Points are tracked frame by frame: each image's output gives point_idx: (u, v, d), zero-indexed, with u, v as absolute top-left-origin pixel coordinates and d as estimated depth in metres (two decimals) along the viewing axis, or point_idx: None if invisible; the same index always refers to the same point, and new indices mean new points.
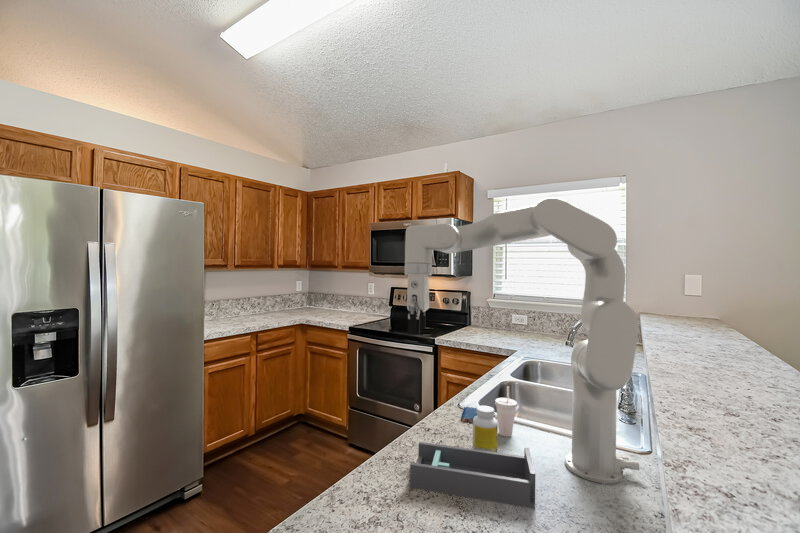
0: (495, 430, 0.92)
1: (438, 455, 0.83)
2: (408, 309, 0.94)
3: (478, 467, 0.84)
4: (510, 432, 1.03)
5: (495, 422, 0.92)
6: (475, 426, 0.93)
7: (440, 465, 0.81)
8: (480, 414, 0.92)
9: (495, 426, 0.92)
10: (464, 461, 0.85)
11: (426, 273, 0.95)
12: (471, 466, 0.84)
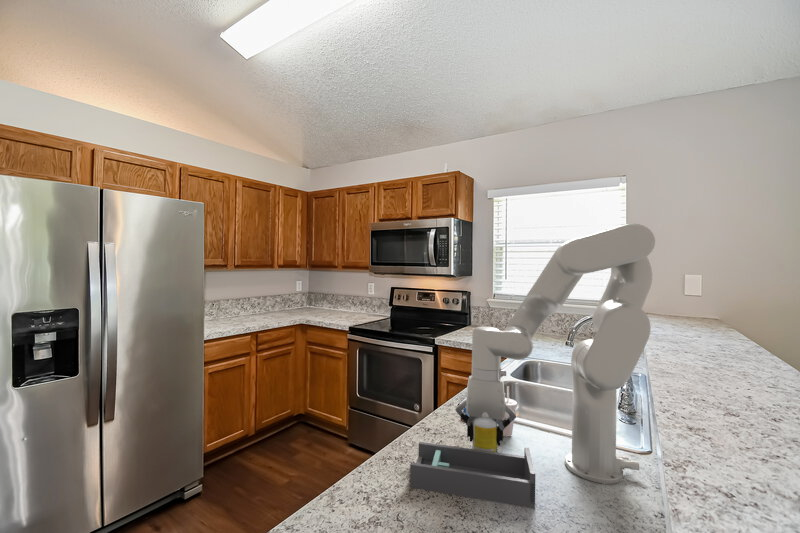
0: (495, 430, 0.92)
1: (438, 455, 0.83)
2: (503, 418, 0.91)
3: (478, 467, 0.84)
4: (510, 432, 1.03)
5: (495, 422, 0.92)
6: (475, 426, 0.93)
7: (440, 465, 0.81)
8: None
9: (495, 426, 0.92)
10: (464, 461, 0.85)
11: None
12: (471, 466, 0.84)
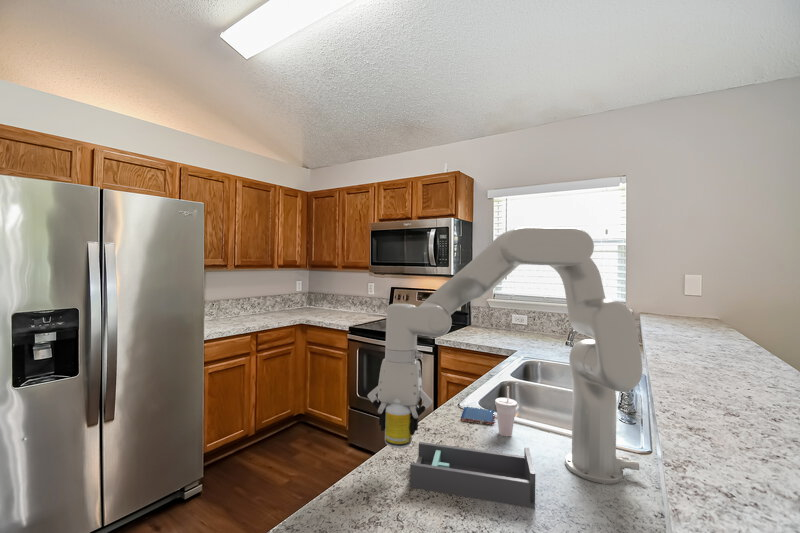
0: (408, 417, 0.82)
1: (438, 455, 0.83)
2: (417, 404, 0.82)
3: (478, 467, 0.84)
4: (510, 432, 1.03)
5: (408, 409, 0.82)
6: (386, 413, 0.83)
7: (440, 465, 0.81)
8: None
9: (408, 413, 0.82)
10: (464, 461, 0.85)
11: None
12: (471, 466, 0.84)
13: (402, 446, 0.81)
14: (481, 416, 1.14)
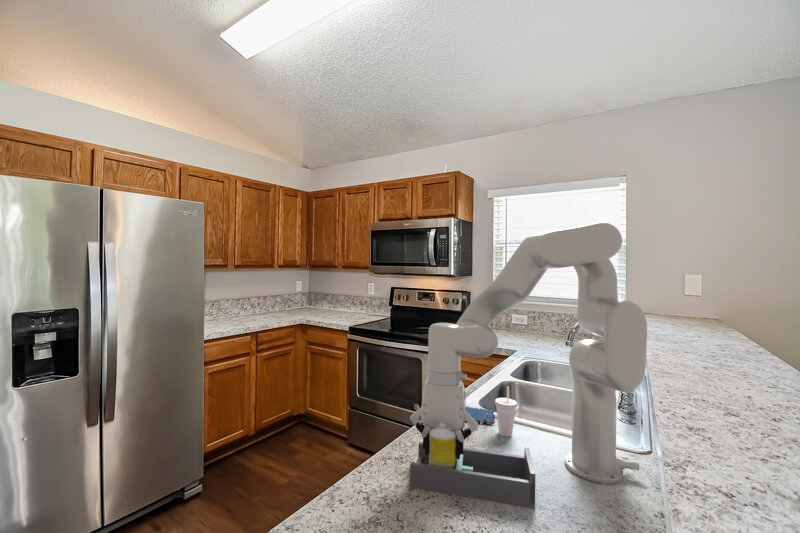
0: (453, 441, 0.79)
1: (461, 458, 0.82)
2: None
3: (478, 467, 0.84)
4: (510, 432, 1.03)
5: (454, 432, 0.80)
6: (431, 437, 0.80)
7: (464, 469, 0.80)
8: None
9: (453, 437, 0.79)
10: (464, 461, 0.85)
11: None
12: (471, 466, 0.84)
13: None
14: (481, 416, 1.14)
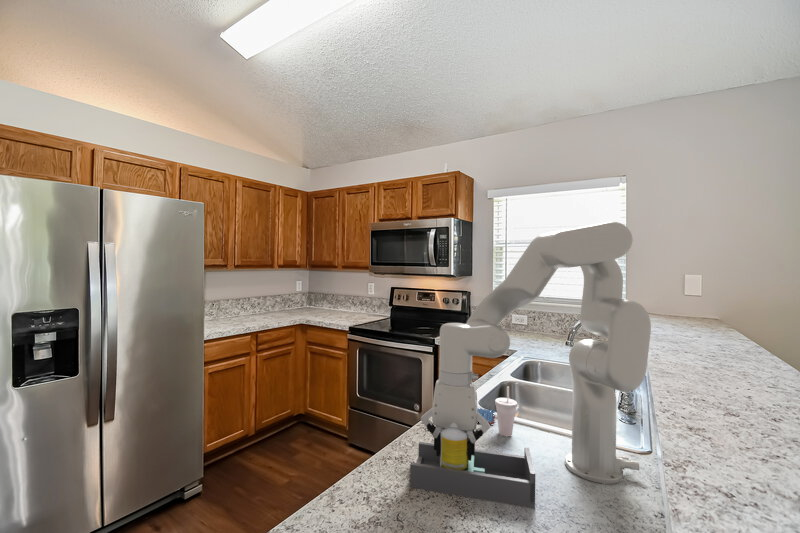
0: (465, 442, 0.79)
1: (472, 460, 0.81)
2: (475, 428, 0.79)
3: (478, 467, 0.84)
4: (510, 432, 1.03)
5: (465, 433, 0.79)
6: (442, 438, 0.80)
7: (475, 470, 0.79)
8: None
9: (465, 438, 0.79)
10: None
11: None
12: None
13: None
14: None
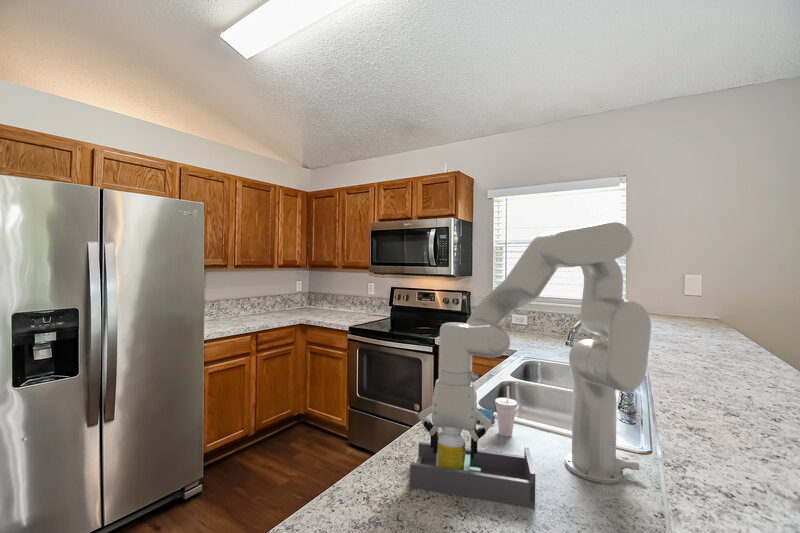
0: (461, 450, 0.79)
1: (468, 459, 0.82)
2: (474, 428, 0.79)
3: (478, 467, 0.84)
4: (510, 432, 1.03)
5: (462, 440, 0.79)
6: (439, 444, 0.80)
7: (471, 470, 0.79)
8: (445, 430, 0.80)
9: (462, 445, 0.79)
10: None
11: None
12: (471, 466, 0.84)
13: None
14: None
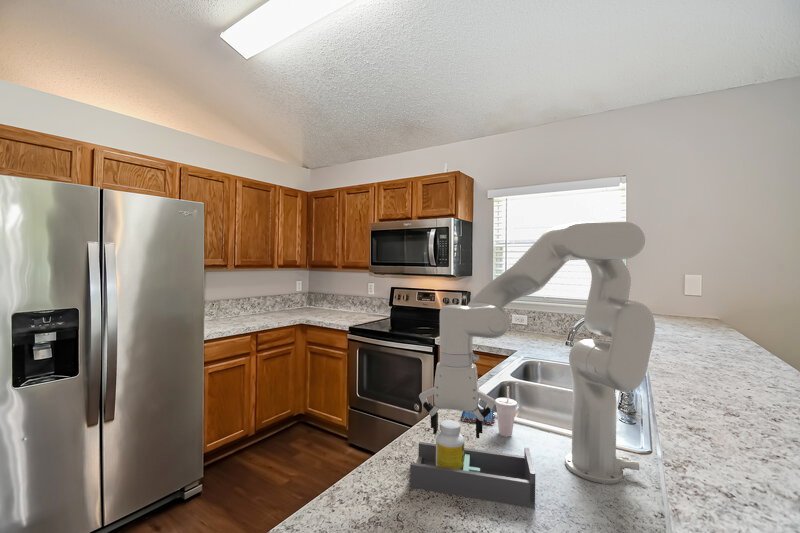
0: (460, 449, 0.79)
1: (468, 459, 0.82)
2: (476, 409, 0.79)
3: (478, 467, 0.84)
4: (510, 432, 1.03)
5: (461, 440, 0.80)
6: (438, 444, 0.80)
7: (471, 470, 0.79)
8: (443, 431, 0.80)
9: (460, 445, 0.79)
10: None
11: None
12: (471, 466, 0.84)
13: None
14: None
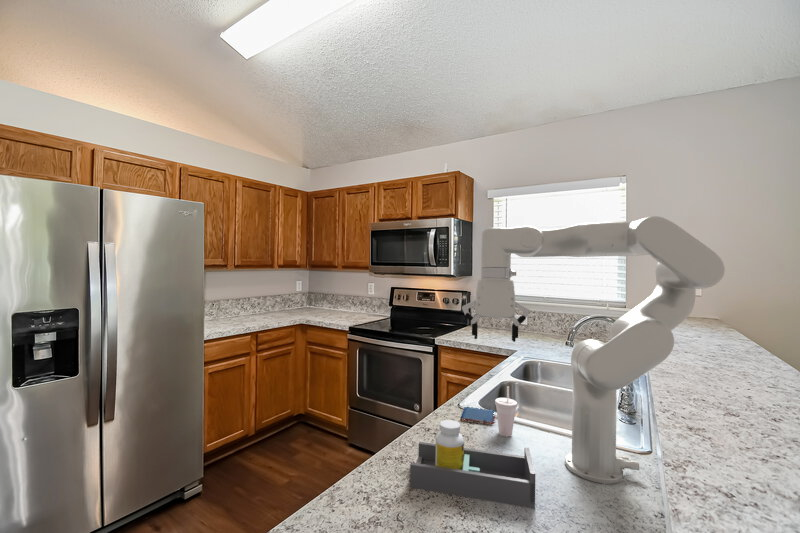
0: (460, 449, 0.79)
1: (468, 459, 0.82)
2: (513, 316, 0.90)
3: (478, 467, 0.84)
4: (510, 432, 1.03)
5: (460, 440, 0.80)
6: (437, 444, 0.80)
7: (470, 470, 0.80)
8: (443, 431, 0.80)
9: (460, 445, 0.79)
10: None
11: None
12: (471, 466, 0.84)
13: None
14: (481, 416, 1.14)
